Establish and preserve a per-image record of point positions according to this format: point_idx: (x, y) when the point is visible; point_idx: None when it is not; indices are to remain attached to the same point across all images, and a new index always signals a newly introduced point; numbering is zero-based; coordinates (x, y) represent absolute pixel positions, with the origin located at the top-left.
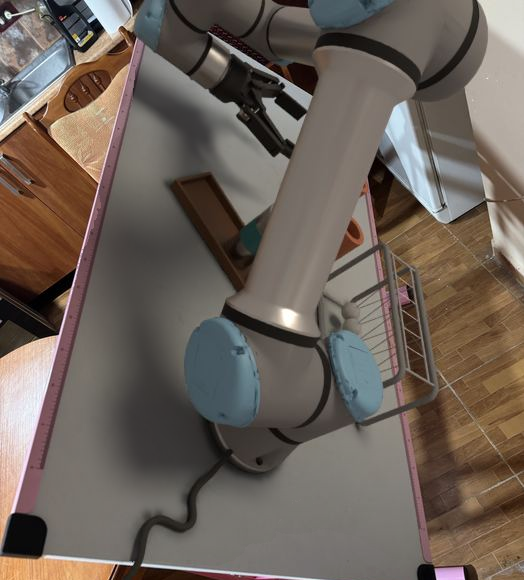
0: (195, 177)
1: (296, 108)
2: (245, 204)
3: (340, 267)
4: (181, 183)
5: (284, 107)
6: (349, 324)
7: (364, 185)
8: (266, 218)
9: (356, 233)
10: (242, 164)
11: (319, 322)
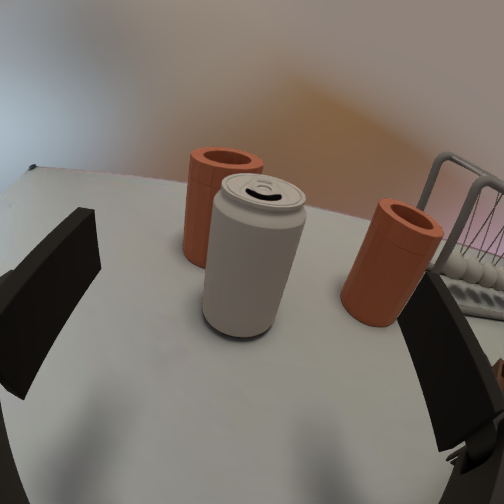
0: None
1: (64, 262)
2: (380, 473)
3: (441, 263)
4: None
5: (47, 335)
6: (481, 273)
7: (232, 153)
8: None
9: (395, 210)
10: (225, 485)
11: (470, 314)
